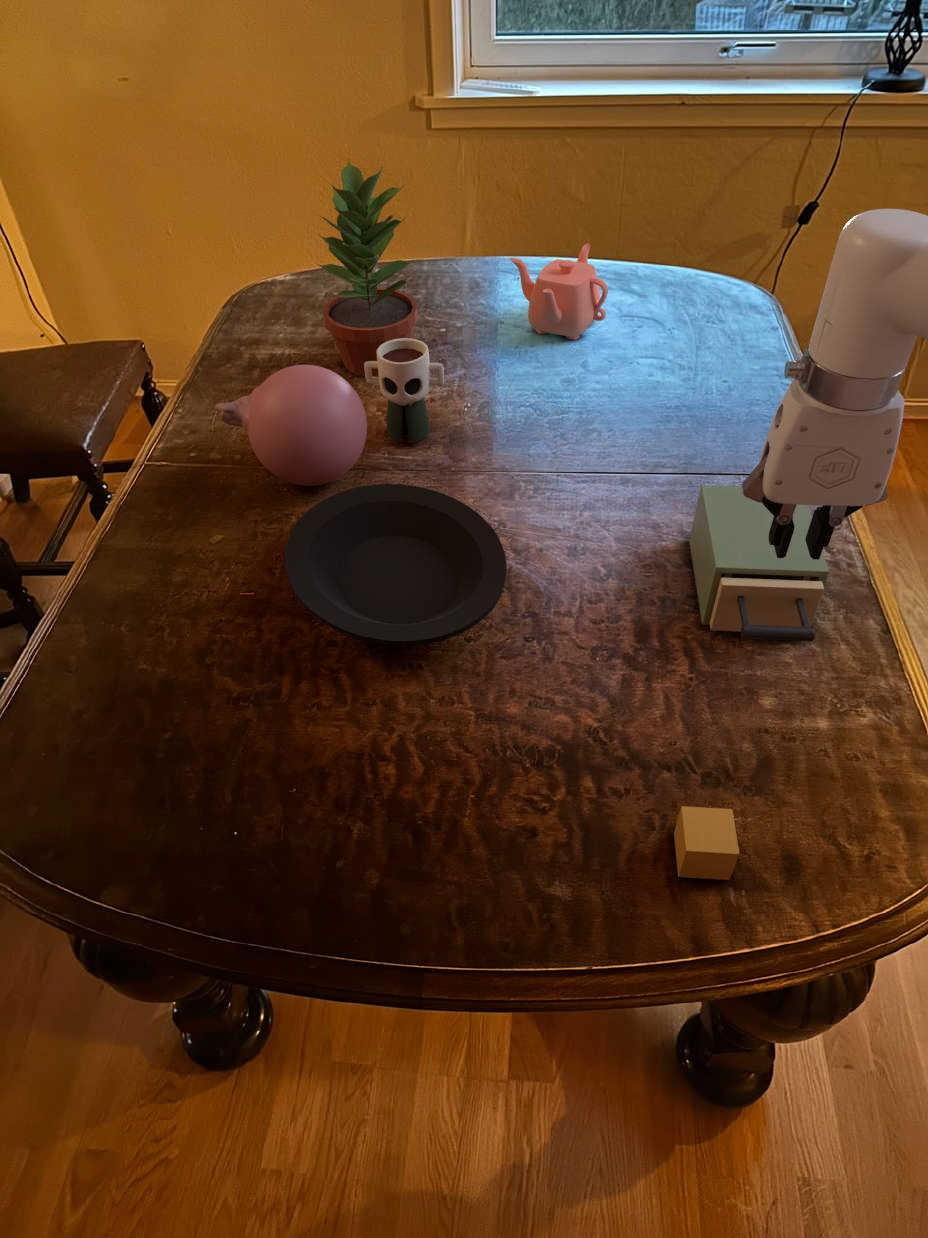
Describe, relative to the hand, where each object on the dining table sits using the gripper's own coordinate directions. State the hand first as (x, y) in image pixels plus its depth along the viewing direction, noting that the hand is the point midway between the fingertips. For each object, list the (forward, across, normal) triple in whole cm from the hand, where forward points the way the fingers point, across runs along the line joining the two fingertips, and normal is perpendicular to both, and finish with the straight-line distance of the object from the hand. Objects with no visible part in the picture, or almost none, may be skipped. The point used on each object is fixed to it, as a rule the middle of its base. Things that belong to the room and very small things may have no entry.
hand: (795, 548), depth 84 cm
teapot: (+15, -23, +75) cm, 80 cm away
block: (+15, -9, -25) cm, 30 cm away
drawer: (+14, 0, +6) cm, 16 cm away
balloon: (+15, -57, +31) cm, 67 cm away
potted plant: (+15, -52, +61) cm, 82 cm away
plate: (+15, -40, +8) cm, 44 cm away
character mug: (+15, -43, +41) cm, 62 cm away
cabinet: (+15, 0, +12) cm, 19 cm away
